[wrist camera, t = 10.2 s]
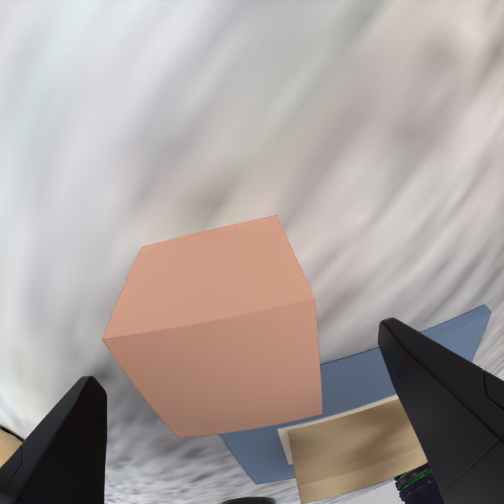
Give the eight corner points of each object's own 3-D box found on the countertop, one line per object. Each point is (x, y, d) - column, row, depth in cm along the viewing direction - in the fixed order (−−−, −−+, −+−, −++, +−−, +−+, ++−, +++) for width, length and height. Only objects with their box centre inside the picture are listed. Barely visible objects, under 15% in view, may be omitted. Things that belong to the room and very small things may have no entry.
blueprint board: (484, 304, 14) (492, 312, 14) (431, 424, 22) (435, 430, 21) (197, 389, 15) (197, 402, 14) (255, 477, 22) (256, 485, 21)
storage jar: (388, 475, 29) (415, 556, 16) (389, 458, 25) (425, 560, 12) (449, 444, 29) (483, 520, 15) (463, 418, 24) (508, 511, 11)
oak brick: (429, 385, 16) (454, 429, 13) (410, 425, 19) (426, 462, 15) (287, 429, 16) (298, 485, 12) (292, 461, 19) (301, 504, 15)
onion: (48, 462, 21) (38, 511, 15) (-5, 438, 19) (-19, 482, 13) (28, 433, 18) (11, 492, 12) (-30, 403, 16) (-51, 454, 10)
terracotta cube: (275, 214, 11) (314, 297, 6) (293, 319, 13) (322, 413, 9) (143, 245, 11) (101, 338, 6) (184, 341, 13) (176, 437, 9)
